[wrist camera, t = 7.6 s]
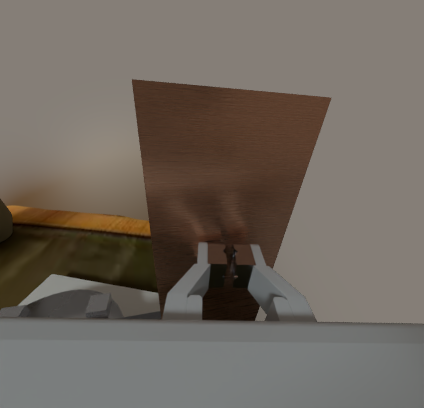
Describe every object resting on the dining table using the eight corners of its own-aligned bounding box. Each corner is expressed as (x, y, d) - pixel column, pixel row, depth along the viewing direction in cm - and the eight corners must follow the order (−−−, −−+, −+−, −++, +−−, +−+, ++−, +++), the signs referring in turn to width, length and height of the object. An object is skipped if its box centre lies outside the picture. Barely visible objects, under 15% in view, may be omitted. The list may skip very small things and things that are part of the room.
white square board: (-249, 592, 10) (-308, 601, 9) (57, 283, 28) (51, 272, 26) (82, 726, 9) (65, 760, 7) (188, 308, 26) (189, 297, 25)
